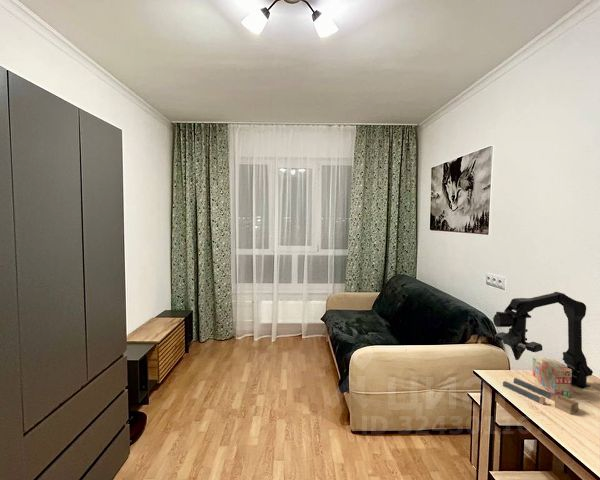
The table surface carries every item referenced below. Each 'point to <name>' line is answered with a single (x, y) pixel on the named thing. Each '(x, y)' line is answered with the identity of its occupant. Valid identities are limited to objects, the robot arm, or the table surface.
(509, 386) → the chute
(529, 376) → the table surface
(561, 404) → the walnut block
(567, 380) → the stack of blocks
